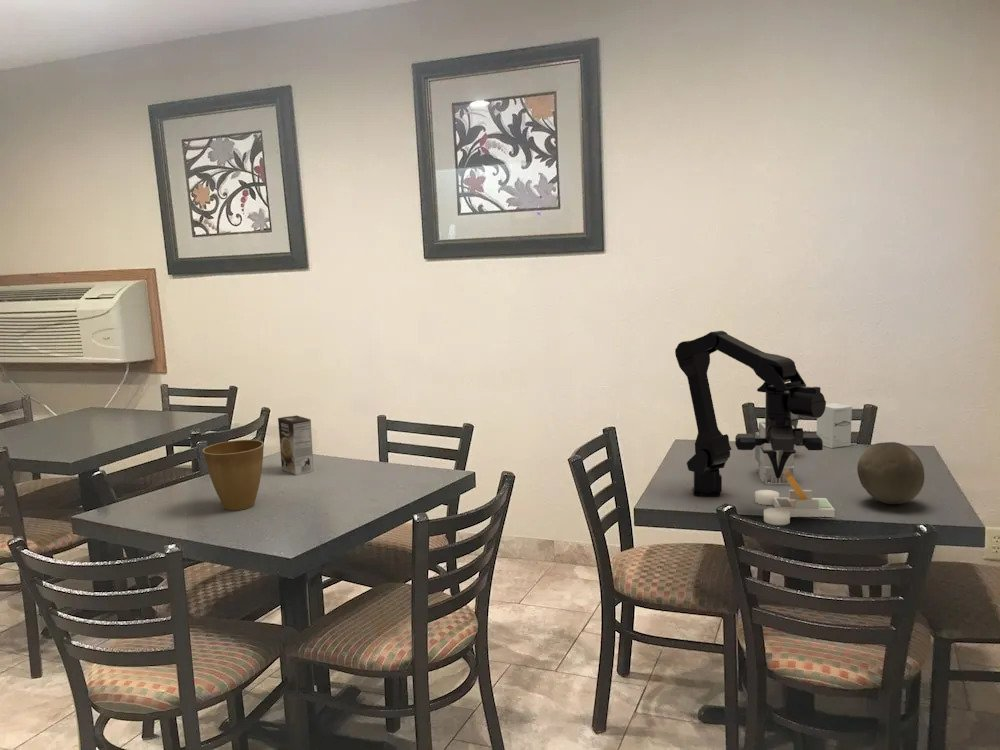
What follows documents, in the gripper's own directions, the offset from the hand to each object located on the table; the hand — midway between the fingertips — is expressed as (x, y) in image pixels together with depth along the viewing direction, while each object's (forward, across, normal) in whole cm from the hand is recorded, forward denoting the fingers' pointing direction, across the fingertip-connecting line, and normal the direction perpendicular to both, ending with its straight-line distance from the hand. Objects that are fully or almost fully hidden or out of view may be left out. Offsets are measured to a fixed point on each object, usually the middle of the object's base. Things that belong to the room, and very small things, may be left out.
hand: (777, 477), depth 189 cm
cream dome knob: (+8, -1, +7) cm, 11 cm away
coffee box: (+7, -134, +29) cm, 137 cm away
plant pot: (+8, -134, -6) cm, 134 cm away
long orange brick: (+5, +6, 0) cm, 8 cm away
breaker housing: (+8, +6, 0) cm, 10 cm away
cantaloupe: (+8, +27, +8) cm, 29 cm away
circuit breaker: (+8, +3, +30) cm, 32 cm away
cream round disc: (+8, -1, -7) cm, 11 cm away
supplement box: (+8, +27, +69) cm, 74 cm away
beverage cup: (+8, +10, +53) cm, 55 cm away
